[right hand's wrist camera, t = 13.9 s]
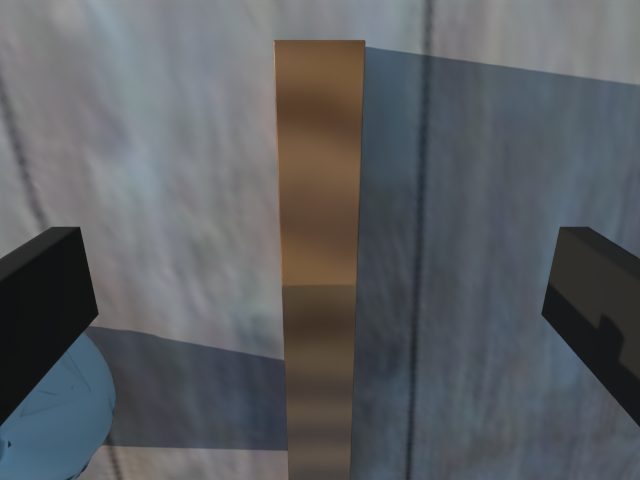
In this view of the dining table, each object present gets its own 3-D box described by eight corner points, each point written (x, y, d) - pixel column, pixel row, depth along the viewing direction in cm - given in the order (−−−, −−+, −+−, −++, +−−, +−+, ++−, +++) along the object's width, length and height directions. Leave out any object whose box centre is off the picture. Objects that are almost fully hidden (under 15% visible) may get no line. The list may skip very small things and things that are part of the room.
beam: (284, 44, 33) (273, 40, 25) (354, 44, 33) (365, 40, 25) (296, 491, 51) (291, 571, 43) (342, 491, 51) (346, 571, 43)
